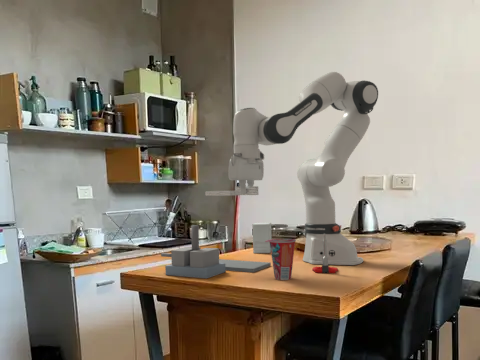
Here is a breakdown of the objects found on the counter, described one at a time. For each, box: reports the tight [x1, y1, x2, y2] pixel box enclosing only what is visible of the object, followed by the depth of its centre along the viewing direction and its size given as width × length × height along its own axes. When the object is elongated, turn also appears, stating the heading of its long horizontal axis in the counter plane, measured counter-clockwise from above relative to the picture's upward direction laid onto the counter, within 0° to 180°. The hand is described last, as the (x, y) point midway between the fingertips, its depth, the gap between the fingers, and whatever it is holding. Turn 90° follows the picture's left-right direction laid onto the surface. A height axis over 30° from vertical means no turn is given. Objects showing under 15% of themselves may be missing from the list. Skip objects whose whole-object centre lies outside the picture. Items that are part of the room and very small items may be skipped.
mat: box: [219, 258, 272, 273], centre depth 170 cm, size 22×14×1 cm, turn 62°
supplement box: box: [251, 222, 273, 254], centre depth 207 cm, size 7×7×13 cm
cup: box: [265, 238, 297, 281], centre depth 147 cm, size 9×8×12 cm
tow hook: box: [312, 234, 339, 274], centre depth 160 cm, size 8×13×9 cm
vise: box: [160, 224, 226, 279], centre depth 160 cm, size 22×12×16 cm, turn 62°
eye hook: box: [204, 185, 259, 197], centre depth 169 cm, size 18×10×3 cm, turn 62°
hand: (246, 193), depth 167 cm, fingers closed on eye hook, 2 cm apart
